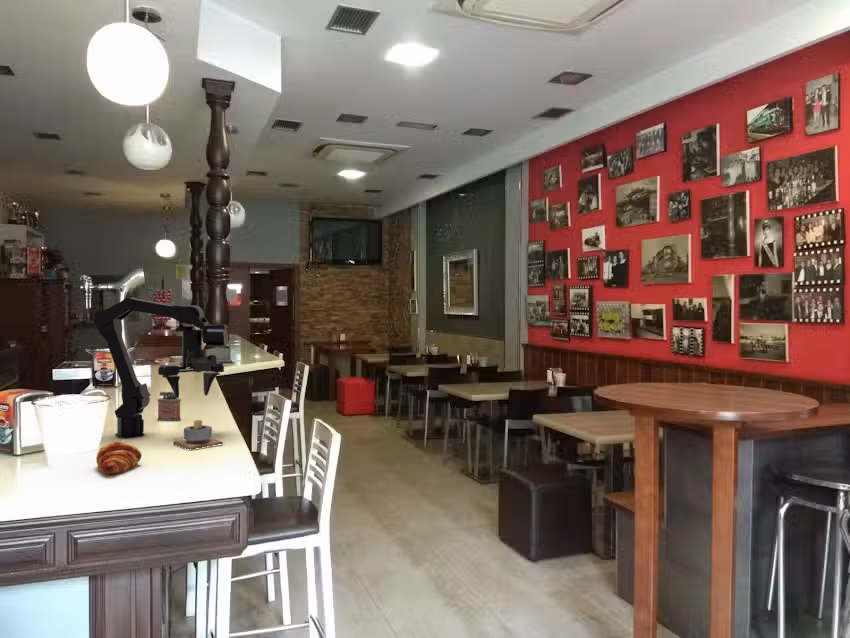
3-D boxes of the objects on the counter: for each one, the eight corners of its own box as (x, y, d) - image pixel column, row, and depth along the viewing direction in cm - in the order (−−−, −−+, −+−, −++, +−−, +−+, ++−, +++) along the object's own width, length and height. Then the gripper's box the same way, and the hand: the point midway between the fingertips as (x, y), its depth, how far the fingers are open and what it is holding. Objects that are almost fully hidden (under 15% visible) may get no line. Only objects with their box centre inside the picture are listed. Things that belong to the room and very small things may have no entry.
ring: (192, 441, 180) (192, 431, 180) (180, 437, 185) (180, 427, 185) (215, 438, 185) (215, 427, 185) (203, 434, 190) (203, 424, 190)
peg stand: (189, 450, 178) (189, 425, 178) (173, 444, 185) (173, 420, 185) (222, 445, 185) (222, 420, 185) (205, 439, 192) (205, 416, 192)
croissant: (113, 471, 169) (97, 445, 168) (149, 451, 172) (134, 425, 171) (98, 492, 149) (80, 462, 148) (139, 469, 152) (122, 440, 151)
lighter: (182, 419, 224) (182, 391, 224) (177, 421, 221) (178, 392, 220) (160, 419, 225) (160, 390, 225) (155, 420, 221) (155, 392, 221)
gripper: (174, 349, 185) (173, 402, 186) (233, 346, 199) (232, 396, 199) (157, 346, 193) (157, 398, 193) (215, 344, 206) (215, 393, 207)
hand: (191, 396), depth 198 cm, fingers open, 9 cm apart
